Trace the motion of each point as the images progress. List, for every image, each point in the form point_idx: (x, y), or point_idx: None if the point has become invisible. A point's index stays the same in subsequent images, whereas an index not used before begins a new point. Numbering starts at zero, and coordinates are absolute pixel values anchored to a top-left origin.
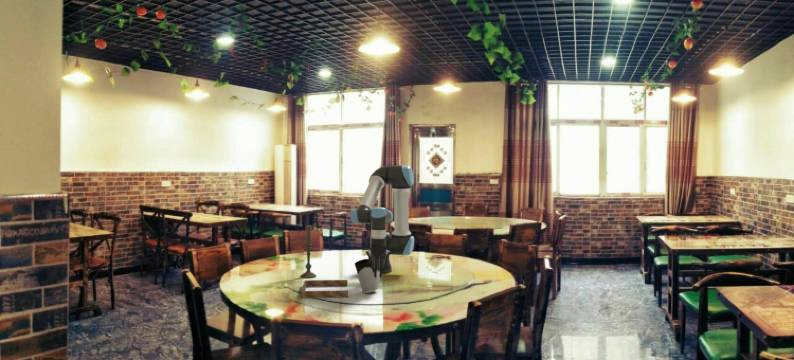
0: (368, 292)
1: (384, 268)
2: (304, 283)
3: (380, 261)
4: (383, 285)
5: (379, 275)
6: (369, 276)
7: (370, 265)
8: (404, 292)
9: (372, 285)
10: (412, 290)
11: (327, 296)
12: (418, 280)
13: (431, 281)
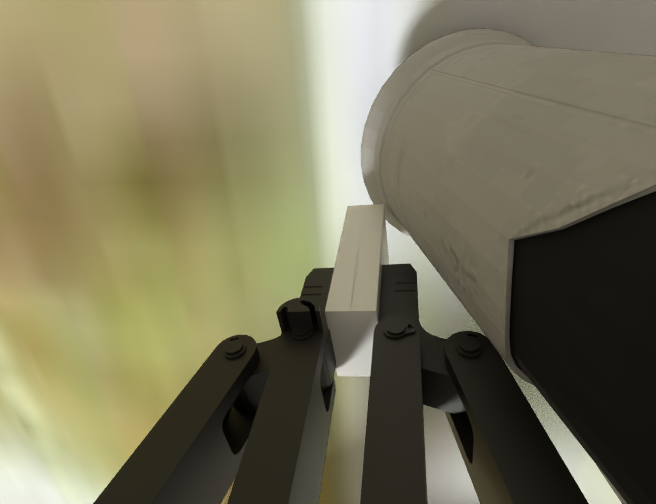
0: (497, 30)
1: (228, 356)
2: None
3: (269, 495)
4: None
5: (335, 271)
6: (542, 84)
7: (565, 325)
8: (96, 131)
9: (449, 70)
10: (51, 206)
11: None
12: (106, 445)
13: (21, 421)
